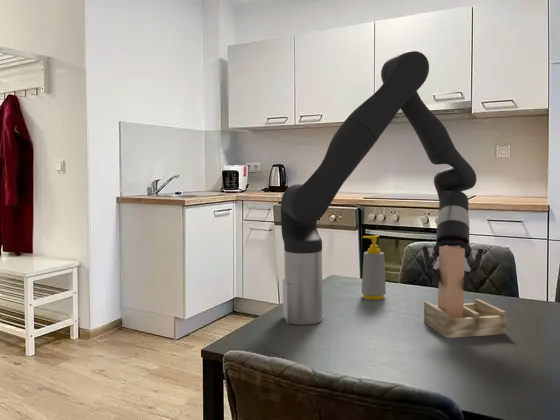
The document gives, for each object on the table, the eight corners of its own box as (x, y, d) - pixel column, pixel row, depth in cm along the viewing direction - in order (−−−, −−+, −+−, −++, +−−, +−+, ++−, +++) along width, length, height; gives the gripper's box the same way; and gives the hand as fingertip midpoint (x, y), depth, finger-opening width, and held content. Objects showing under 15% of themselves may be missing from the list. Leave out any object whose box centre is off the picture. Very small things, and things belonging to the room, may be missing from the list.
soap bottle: (356, 295, 139) (357, 234, 138) (378, 293, 141) (378, 233, 140) (368, 301, 133) (368, 237, 131) (390, 299, 135) (391, 236, 133)
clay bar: (446, 319, 107) (448, 249, 106) (437, 314, 111) (439, 246, 110) (463, 318, 108) (464, 248, 106) (453, 313, 112) (455, 245, 110)
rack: (447, 338, 104) (447, 315, 103) (423, 322, 114) (424, 301, 114) (505, 333, 106) (506, 311, 105) (477, 318, 117) (478, 298, 116)
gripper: (422, 217, 117) (417, 276, 107) (485, 219, 112) (486, 281, 102) (423, 236, 122) (418, 293, 112) (483, 238, 117) (484, 299, 107)
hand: (451, 287), depth 107 cm, fingers closed on clay bar, 5 cm apart
